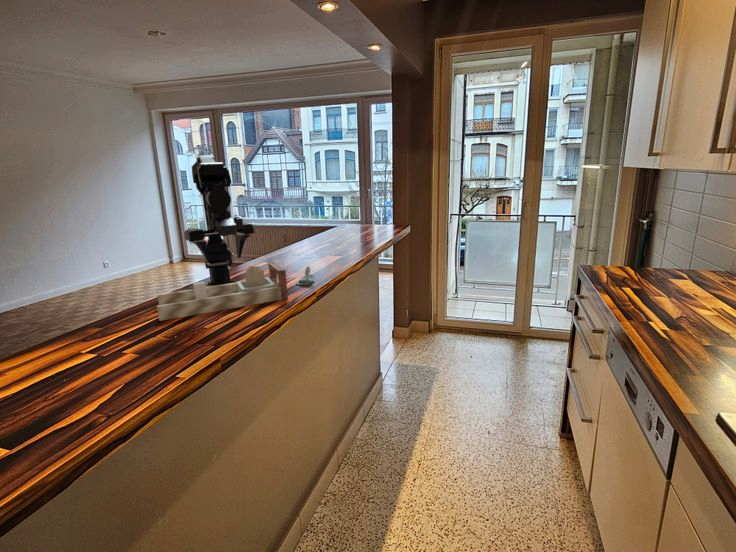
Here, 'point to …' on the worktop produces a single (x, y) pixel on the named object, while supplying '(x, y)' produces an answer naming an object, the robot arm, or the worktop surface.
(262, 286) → the square frame with handle
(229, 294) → the channel
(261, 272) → the candle
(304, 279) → the pacifier
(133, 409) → the worktop surface
